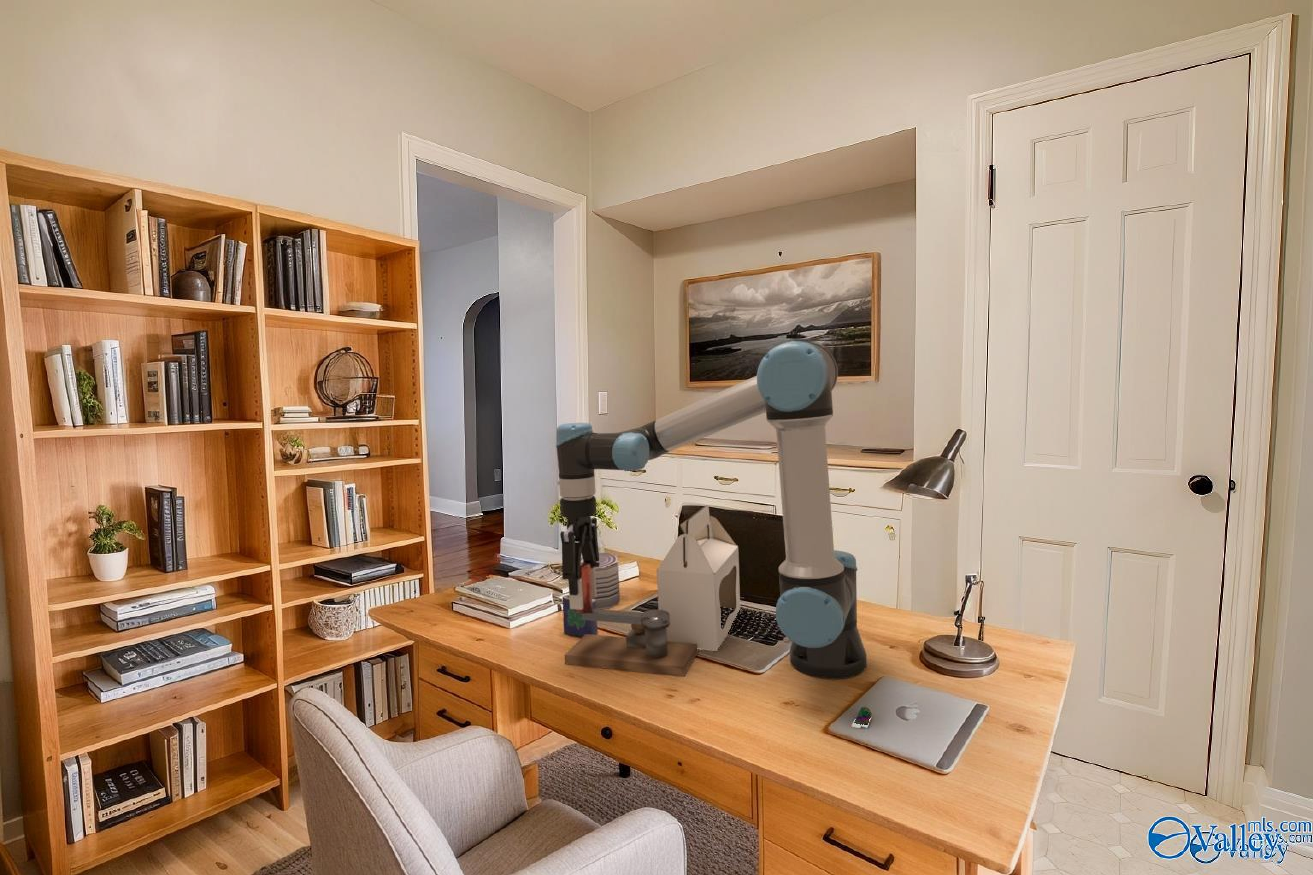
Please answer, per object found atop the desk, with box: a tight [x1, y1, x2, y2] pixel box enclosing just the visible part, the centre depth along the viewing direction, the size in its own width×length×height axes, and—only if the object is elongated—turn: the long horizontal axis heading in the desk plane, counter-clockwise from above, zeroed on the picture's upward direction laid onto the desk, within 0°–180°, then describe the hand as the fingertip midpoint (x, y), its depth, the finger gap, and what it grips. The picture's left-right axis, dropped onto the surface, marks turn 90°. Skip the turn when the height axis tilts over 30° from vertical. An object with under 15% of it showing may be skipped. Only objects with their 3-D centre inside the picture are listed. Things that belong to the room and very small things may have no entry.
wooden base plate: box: [564, 624, 698, 677], centre depth 139 cm, size 26×11×8 cm, turn 72°
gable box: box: [656, 505, 741, 651], centre depth 151 cm, size 22×13×28 cm, turn 160°
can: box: [581, 551, 621, 610], centre depth 173 cm, size 11×11×12 cm
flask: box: [561, 594, 599, 639], centre depth 152 cm, size 9×3×11 cm, turn 61°
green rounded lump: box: [854, 706, 872, 725], centre depth 111 cm, size 4×3×2 cm, turn 150°
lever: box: [576, 563, 670, 630], centre depth 137 cm, size 21×6×12 cm, turn 72°
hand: (583, 602), depth 140 cm, fingers open, 6 cm apart
